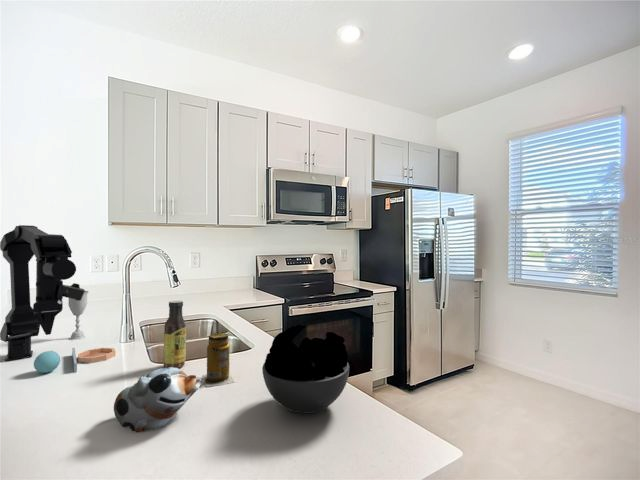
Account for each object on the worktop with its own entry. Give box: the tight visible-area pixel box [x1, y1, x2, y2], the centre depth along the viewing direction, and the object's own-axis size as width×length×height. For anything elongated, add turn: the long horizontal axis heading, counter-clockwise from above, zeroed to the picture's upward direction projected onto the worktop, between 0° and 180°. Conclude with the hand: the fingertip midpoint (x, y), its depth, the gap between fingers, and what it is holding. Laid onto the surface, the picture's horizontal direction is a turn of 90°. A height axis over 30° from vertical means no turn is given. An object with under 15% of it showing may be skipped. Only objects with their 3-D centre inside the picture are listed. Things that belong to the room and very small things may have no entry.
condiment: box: [202, 332, 235, 387], centre depth 92 cm, size 7×8×12 cm
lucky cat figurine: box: [113, 367, 202, 434], centre depth 71 cm, size 15×12×14 cm
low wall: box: [71, 347, 78, 373], centre depth 103 cm, size 18×1×2 cm, turn 38°
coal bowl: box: [262, 324, 350, 414], centre depth 76 cm, size 20×20×19 cm
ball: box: [33, 350, 61, 374], centre depth 96 cm, size 6×6×6 cm
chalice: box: [67, 290, 89, 340], centre depth 131 cm, size 7×7×18 cm
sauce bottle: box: [162, 300, 187, 369], centre depth 101 cm, size 7×6×20 cm
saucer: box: [77, 347, 116, 364], centre depth 109 cm, size 10×10×2 cm
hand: (48, 330), depth 96 cm, fingers open, 9 cm apart
